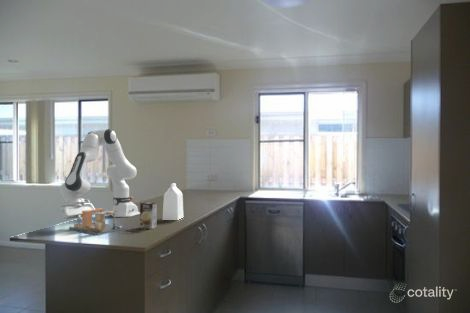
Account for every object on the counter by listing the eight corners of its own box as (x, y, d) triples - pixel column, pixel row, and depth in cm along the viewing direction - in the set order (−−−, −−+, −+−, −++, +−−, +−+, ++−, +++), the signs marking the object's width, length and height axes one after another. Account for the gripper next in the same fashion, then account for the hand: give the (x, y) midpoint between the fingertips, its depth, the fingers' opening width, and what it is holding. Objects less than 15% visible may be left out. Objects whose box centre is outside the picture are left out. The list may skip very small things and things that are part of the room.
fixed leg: (91, 223, 230) (91, 207, 230) (117, 228, 216) (117, 211, 216) (73, 227, 219) (73, 209, 219) (99, 232, 205) (99, 214, 205)
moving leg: (100, 223, 225) (100, 208, 225) (104, 224, 223) (104, 208, 223) (82, 227, 214) (82, 210, 214) (86, 228, 212) (86, 211, 212)
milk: (177, 221, 247) (178, 184, 247) (162, 220, 249) (162, 184, 249) (183, 218, 259) (183, 183, 258) (169, 217, 261) (169, 182, 261)
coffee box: (139, 228, 224) (139, 203, 223) (144, 226, 230) (144, 201, 230) (152, 229, 221) (152, 203, 221) (157, 226, 227) (157, 202, 227)
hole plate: (97, 223, 235) (97, 220, 235) (124, 229, 220) (125, 225, 220) (69, 229, 218) (69, 225, 218) (97, 235, 203) (97, 231, 203)
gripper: (61, 203, 211) (70, 221, 206) (91, 199, 228) (100, 215, 223) (57, 209, 213) (66, 227, 208) (87, 205, 231) (96, 222, 226)
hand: (84, 221), depth 216 cm, fingers closed, pressing on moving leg
